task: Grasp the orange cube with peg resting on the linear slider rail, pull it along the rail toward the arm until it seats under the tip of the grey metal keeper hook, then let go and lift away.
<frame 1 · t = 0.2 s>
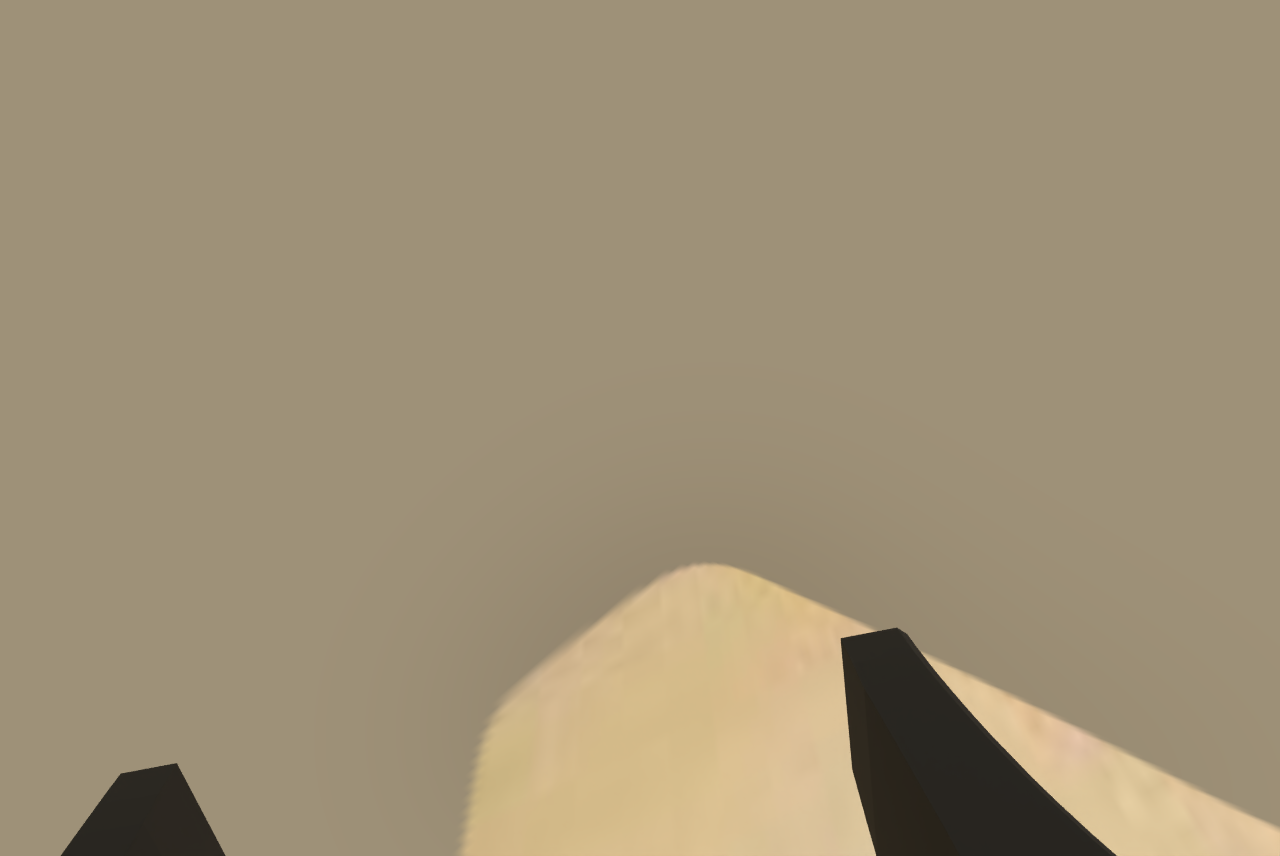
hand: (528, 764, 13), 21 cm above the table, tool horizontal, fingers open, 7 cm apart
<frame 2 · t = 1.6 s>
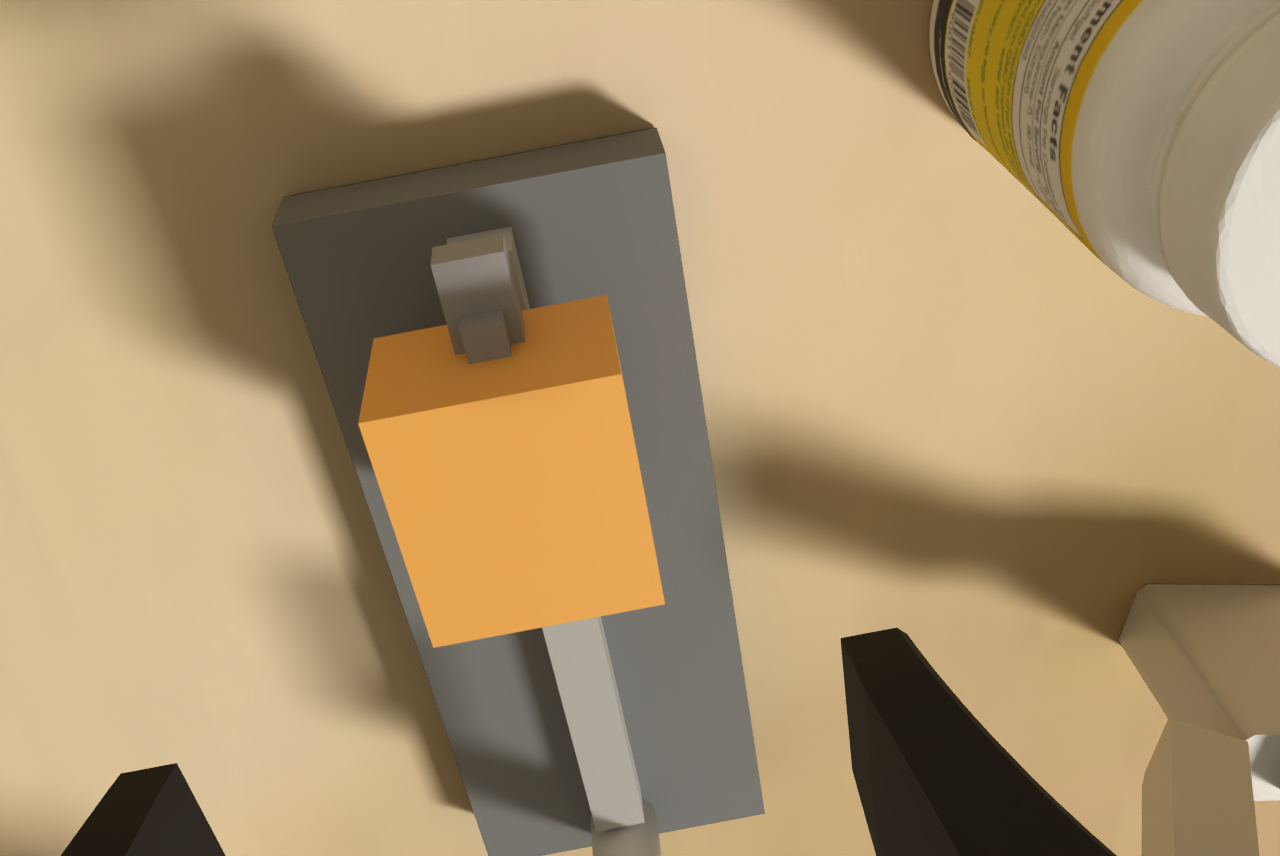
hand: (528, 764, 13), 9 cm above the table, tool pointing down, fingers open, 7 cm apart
lighter: (1149, 609, 26), on the table
orange cube with peg: (509, 432, 18), point 4 cm above the table, slide at 0.0 cm
linear slider rail: (559, 533, 23), on the table
supplement bottle: (1066, 5, 19), on the table
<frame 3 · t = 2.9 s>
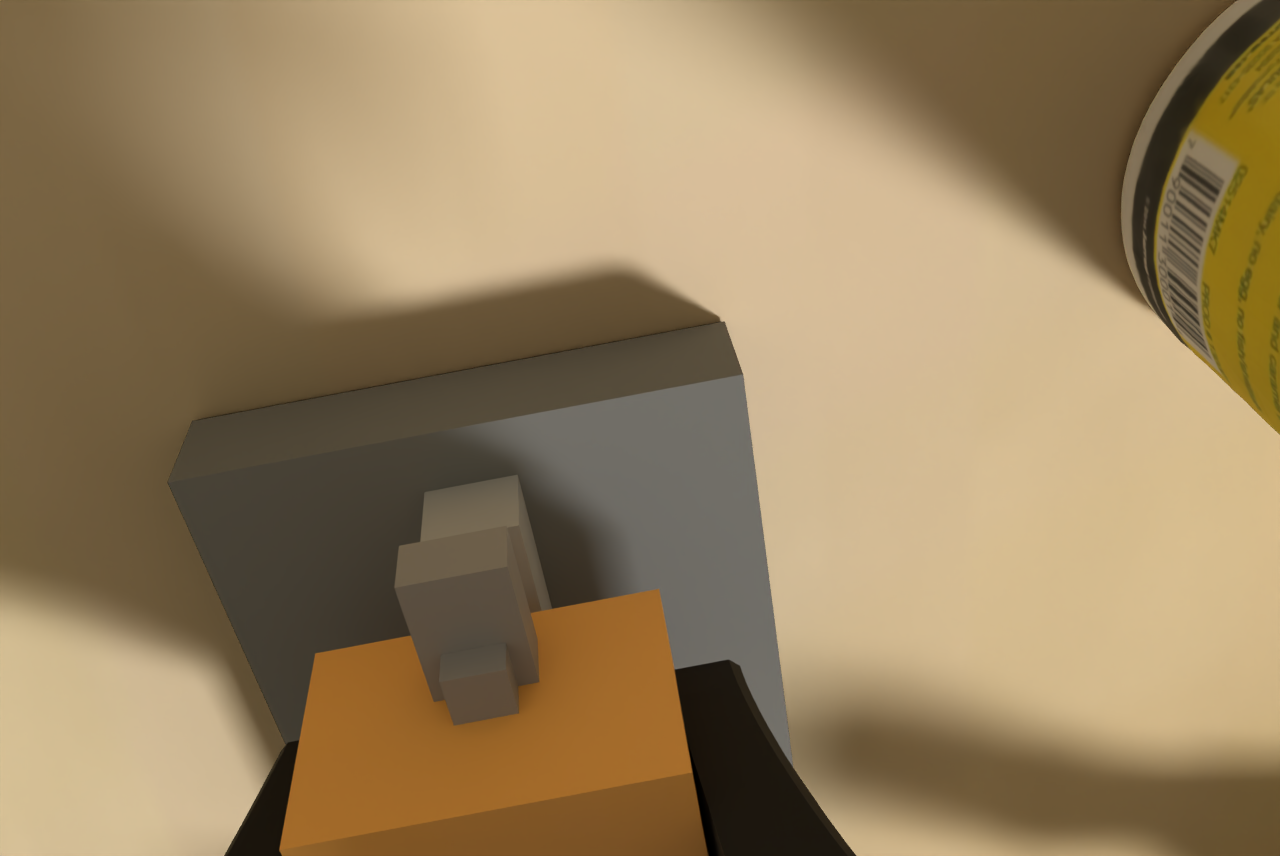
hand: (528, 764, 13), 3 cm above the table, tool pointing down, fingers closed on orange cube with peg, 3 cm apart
orange cube with peg: (516, 801, 12), point 4 cm above the table, slide at 0.0 cm, touching gripper
linear slider rail: (580, 816, 17), on the table
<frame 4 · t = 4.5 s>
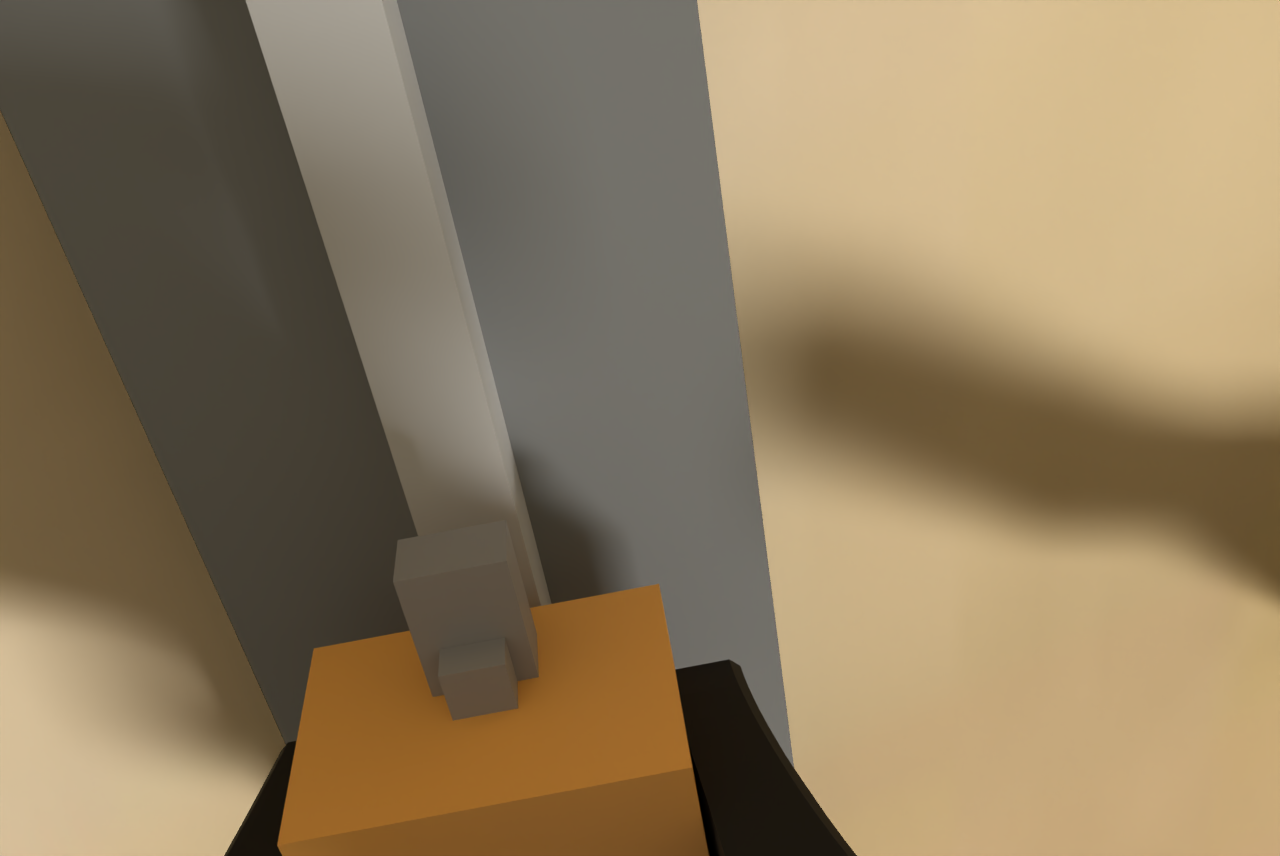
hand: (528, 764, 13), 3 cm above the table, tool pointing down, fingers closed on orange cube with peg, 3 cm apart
orange cube with peg: (515, 797, 12), point 4 cm above the table, slide at 6.2 cm, touching gripper
linear slider rail: (483, 461, 14), on the table
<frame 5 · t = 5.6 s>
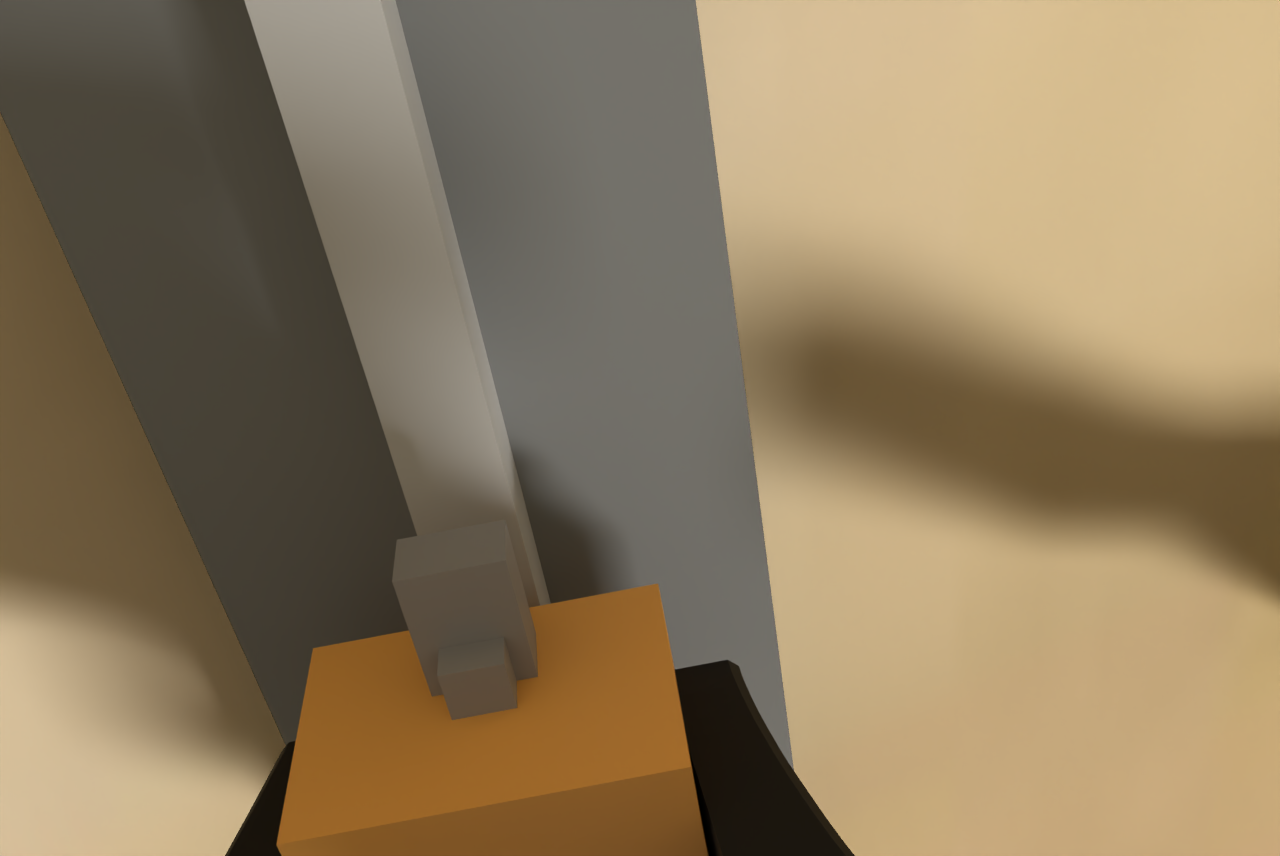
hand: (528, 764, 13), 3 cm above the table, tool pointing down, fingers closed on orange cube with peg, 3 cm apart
orange cube with peg: (514, 797, 12), point 4 cm above the table, slide at 6.2 cm, touching gripper
linear slider rail: (482, 460, 14), on the table
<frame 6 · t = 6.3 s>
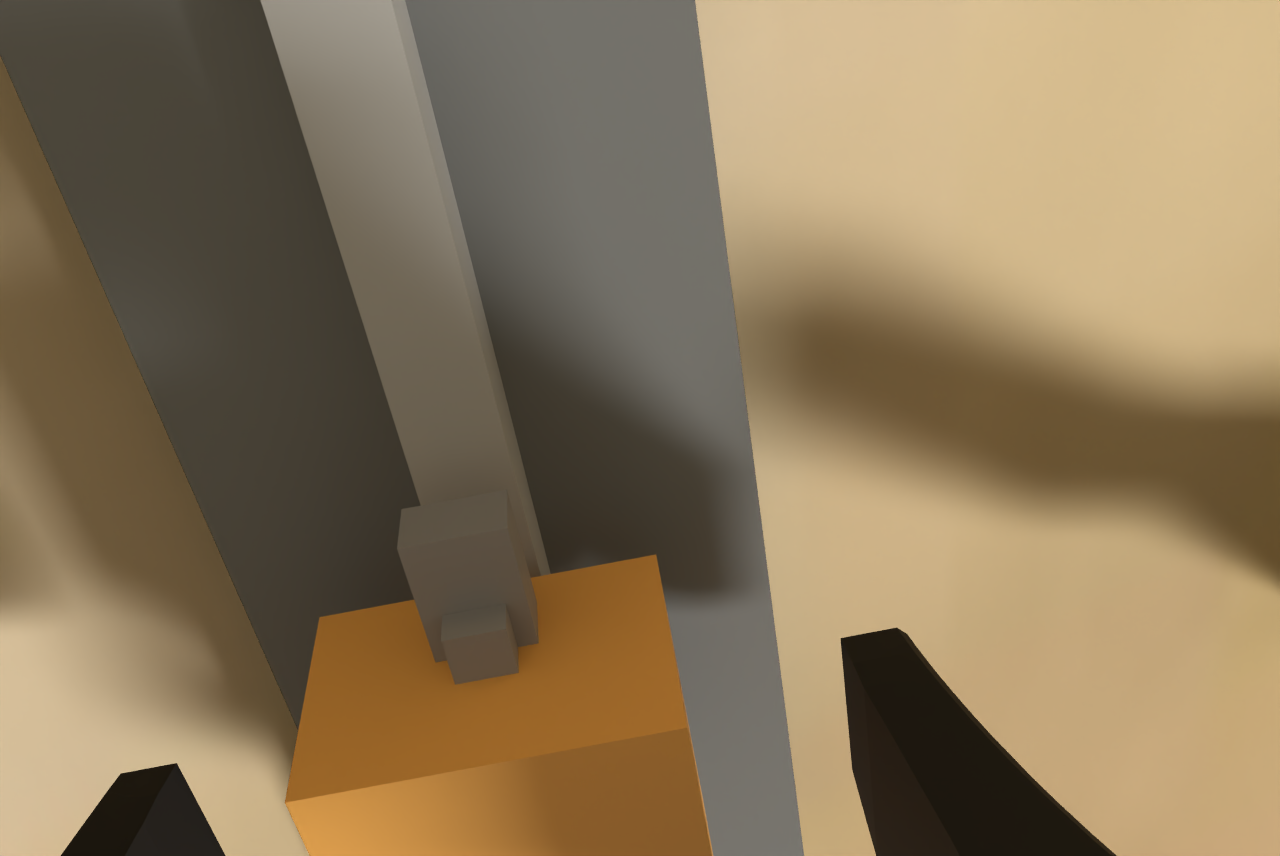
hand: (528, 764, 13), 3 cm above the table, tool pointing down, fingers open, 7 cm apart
orange cube with peg: (515, 761, 12), point 4 cm above the table, slide at 6.2 cm
linear slider rail: (485, 437, 14), on the table
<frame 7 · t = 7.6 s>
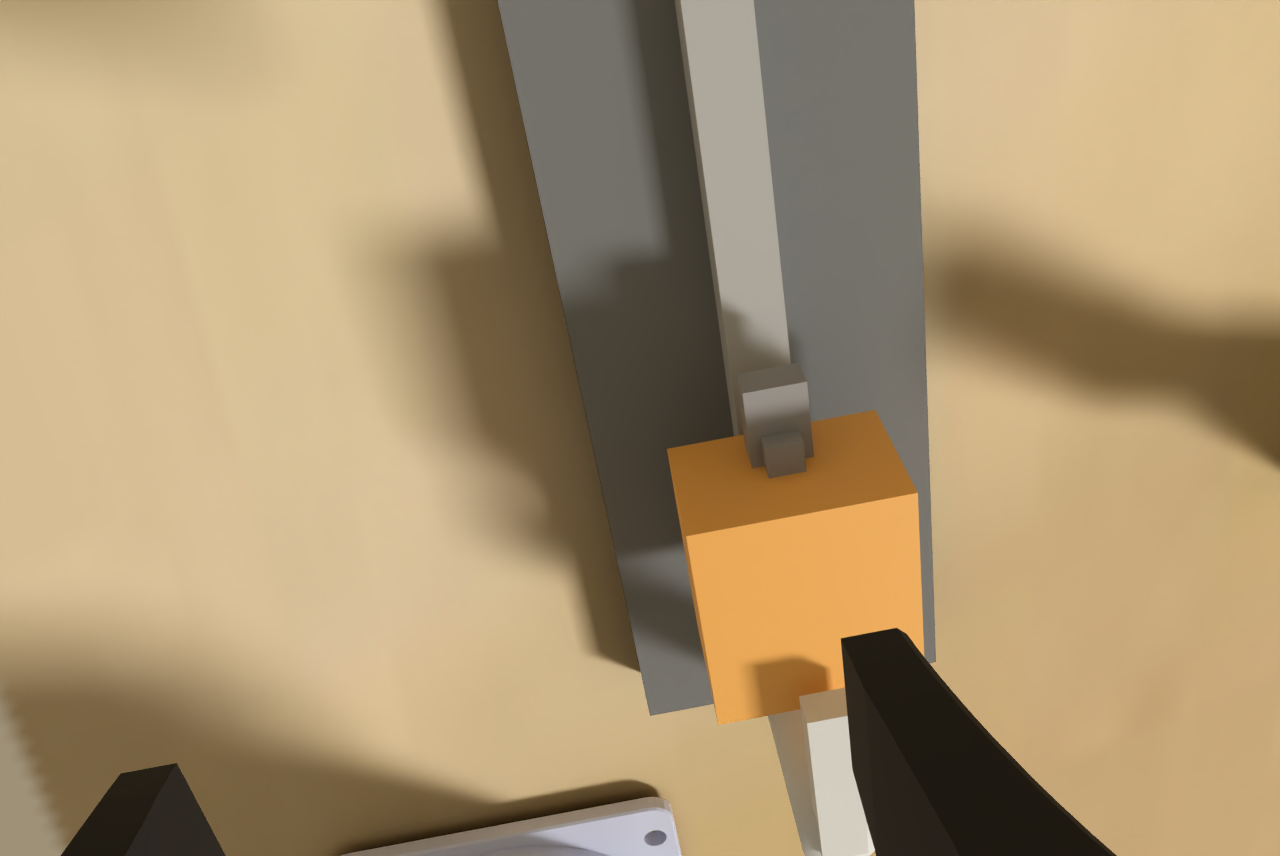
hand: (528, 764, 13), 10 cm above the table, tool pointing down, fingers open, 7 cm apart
orange cube with peg: (792, 534, 20), point 4 cm above the table, slide at 6.2 cm
linear slider rail: (743, 346, 22), on the table
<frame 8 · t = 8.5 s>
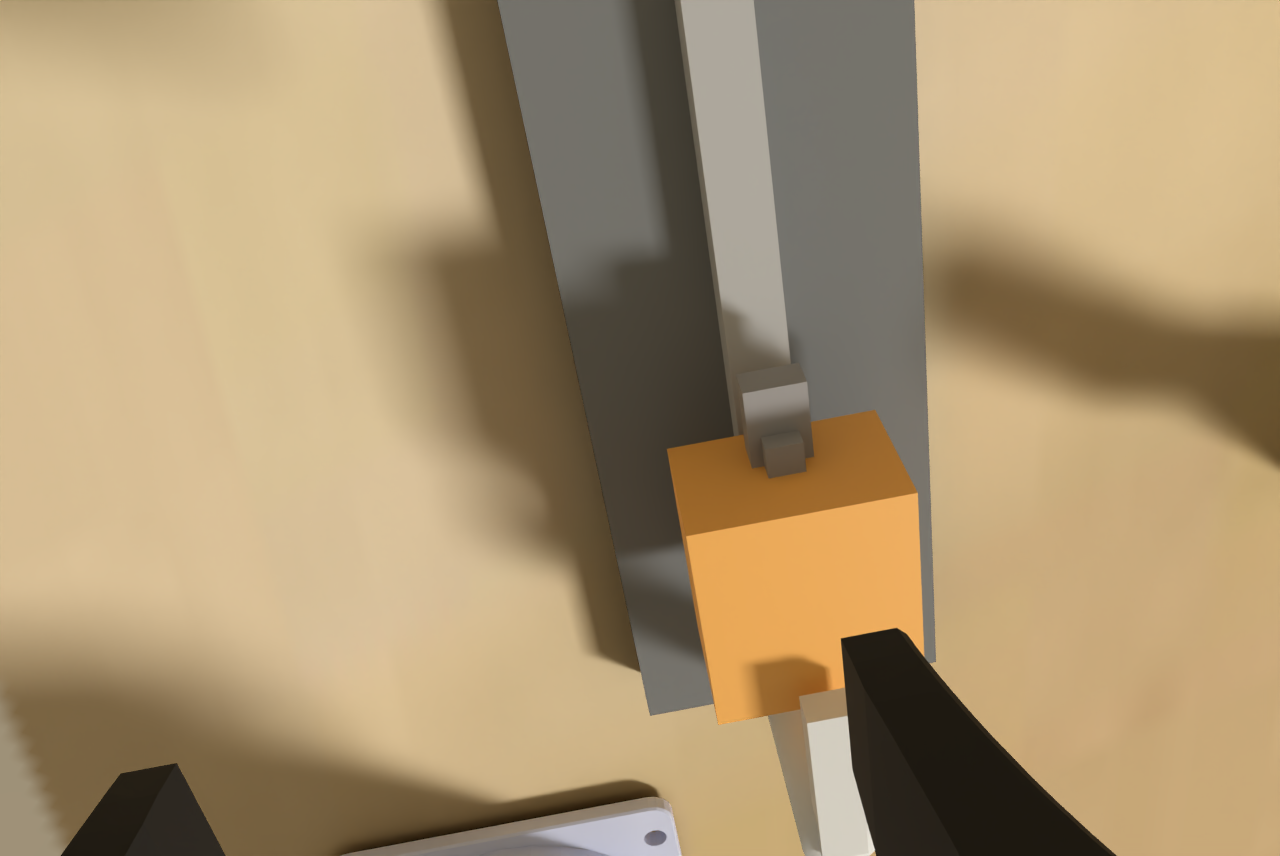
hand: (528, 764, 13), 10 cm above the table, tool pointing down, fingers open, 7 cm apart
orange cube with peg: (792, 534, 20), point 4 cm above the table, slide at 6.2 cm
linear slider rail: (743, 346, 22), on the table
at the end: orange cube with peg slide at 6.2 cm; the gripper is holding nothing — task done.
